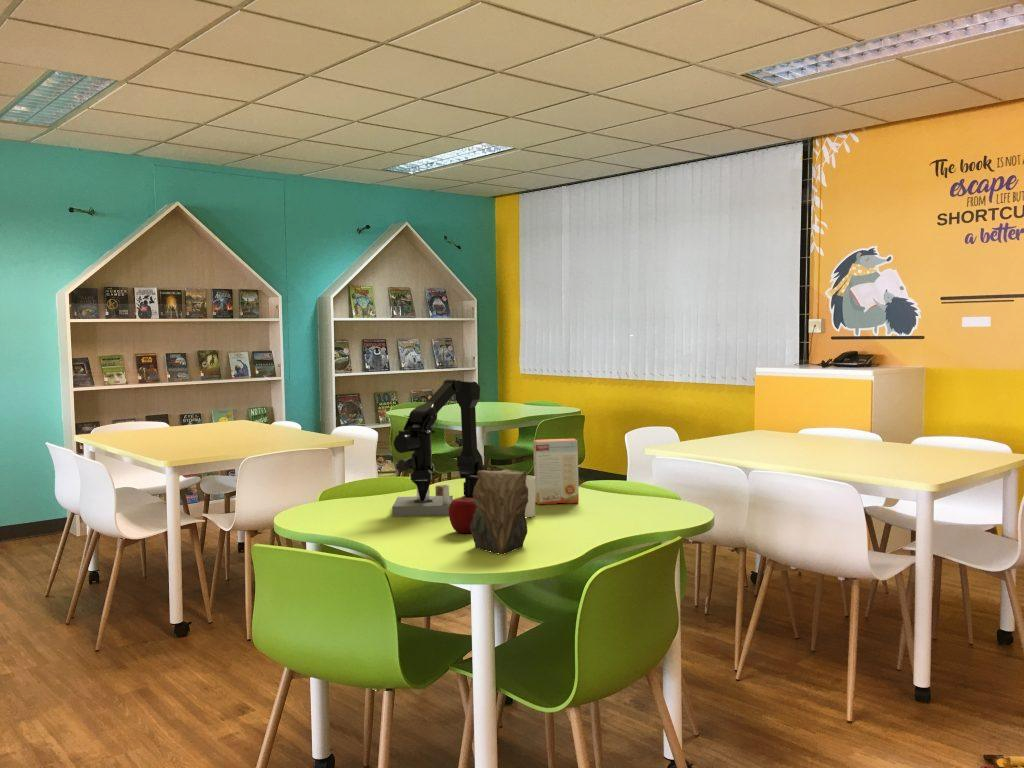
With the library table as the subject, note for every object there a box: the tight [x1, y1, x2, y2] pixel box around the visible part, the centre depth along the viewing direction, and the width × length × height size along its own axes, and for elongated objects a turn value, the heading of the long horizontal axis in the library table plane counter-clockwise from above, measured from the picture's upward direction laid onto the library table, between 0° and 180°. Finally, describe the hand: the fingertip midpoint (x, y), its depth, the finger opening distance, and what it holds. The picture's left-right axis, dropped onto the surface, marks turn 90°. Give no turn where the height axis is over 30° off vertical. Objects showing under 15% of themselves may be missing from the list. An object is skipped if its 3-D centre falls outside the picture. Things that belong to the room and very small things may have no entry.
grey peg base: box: [391, 484, 454, 517], centre depth 267 cm, size 18×16×9 cm
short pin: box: [434, 484, 444, 496], centre depth 282 cm, size 4×4×5 cm
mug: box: [525, 474, 536, 518], centre depth 256 cm, size 10×7×12 cm, turn 109°
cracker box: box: [533, 437, 580, 506], centre depth 276 cm, size 14×6×21 cm, turn 97°
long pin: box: [416, 487, 430, 503], centre depth 267 cm, size 4×4×9 cm
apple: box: [448, 496, 477, 534], centre depth 237 cm, size 10×10×10 cm
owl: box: [470, 468, 528, 555], centre depth 220 cm, size 13×13×20 cm
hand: (423, 497), depth 267 cm, fingers open, 9 cm apart
